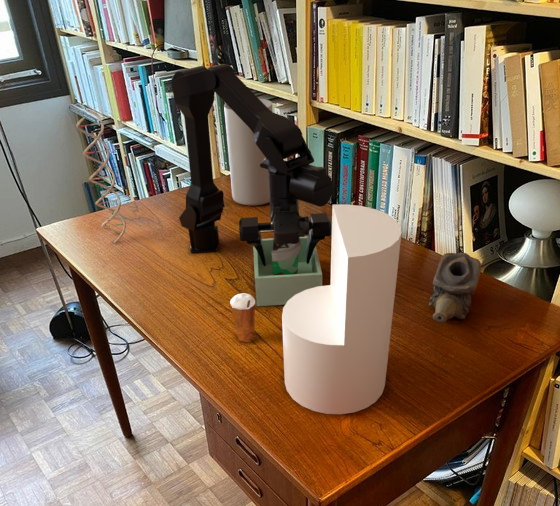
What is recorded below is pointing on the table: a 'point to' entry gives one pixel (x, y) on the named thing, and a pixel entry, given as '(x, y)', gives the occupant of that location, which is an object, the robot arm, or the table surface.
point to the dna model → (97, 138)
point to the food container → (285, 258)
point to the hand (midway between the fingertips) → (286, 264)
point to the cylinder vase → (246, 161)
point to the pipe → (454, 286)
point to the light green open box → (284, 276)
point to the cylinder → (345, 317)
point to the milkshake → (244, 316)
